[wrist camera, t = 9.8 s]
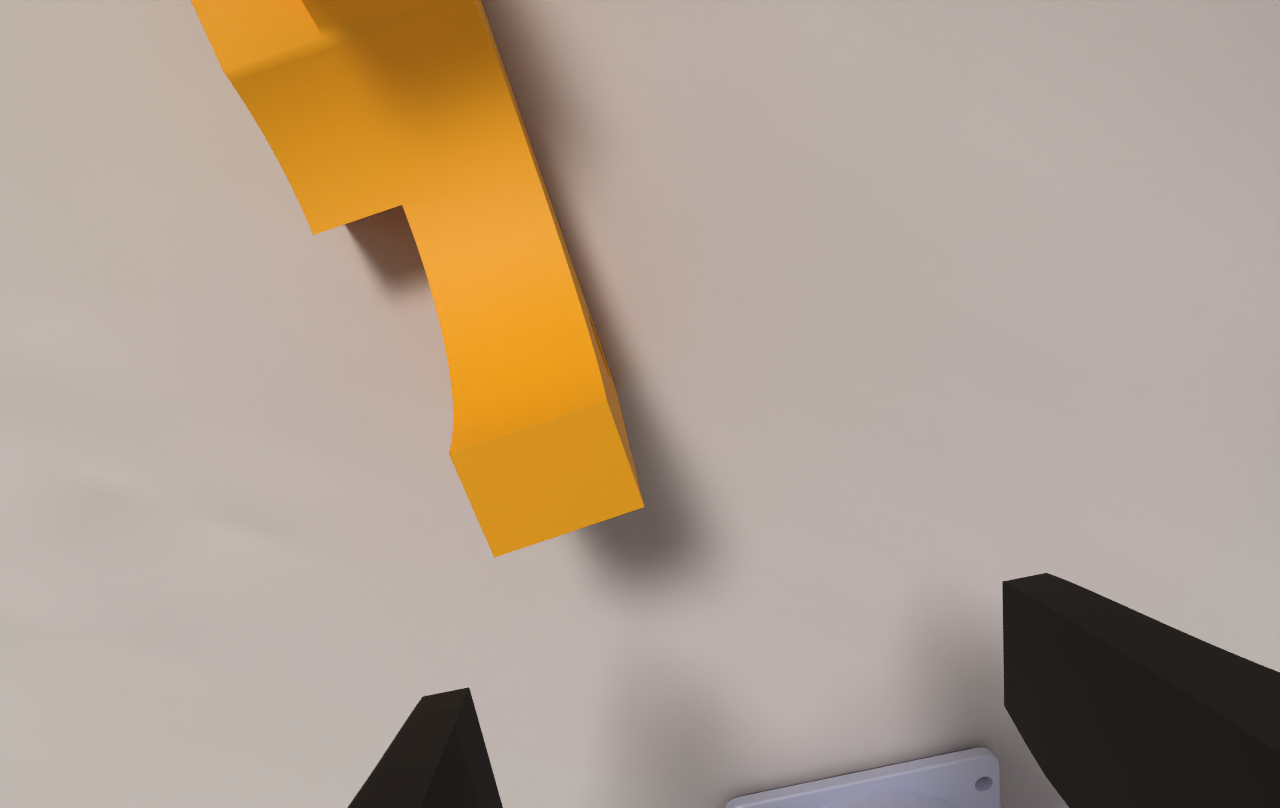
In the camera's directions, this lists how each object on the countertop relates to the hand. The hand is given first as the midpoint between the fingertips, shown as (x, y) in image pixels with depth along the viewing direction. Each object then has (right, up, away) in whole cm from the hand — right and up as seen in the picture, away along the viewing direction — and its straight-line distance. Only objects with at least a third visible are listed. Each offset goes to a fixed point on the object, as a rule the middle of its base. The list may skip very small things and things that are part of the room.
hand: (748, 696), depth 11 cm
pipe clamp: (-6, +9, +7) cm, 13 cm away
